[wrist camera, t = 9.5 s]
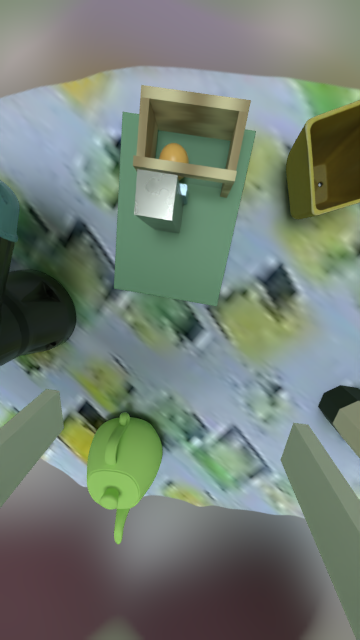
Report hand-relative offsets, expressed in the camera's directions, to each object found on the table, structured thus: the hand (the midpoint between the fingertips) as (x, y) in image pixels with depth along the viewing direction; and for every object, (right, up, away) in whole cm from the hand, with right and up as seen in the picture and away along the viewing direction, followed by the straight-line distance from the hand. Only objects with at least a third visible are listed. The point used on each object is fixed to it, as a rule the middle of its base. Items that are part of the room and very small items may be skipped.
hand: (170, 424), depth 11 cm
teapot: (-10, -22, +34) cm, 42 cm away
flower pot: (+19, +25, +17) cm, 35 cm away
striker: (-1, +22, +18) cm, 28 cm away
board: (0, +21, +19) cm, 29 cm away
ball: (0, +27, +15) cm, 31 cm away
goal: (+2, +29, +17) cm, 33 cm away
